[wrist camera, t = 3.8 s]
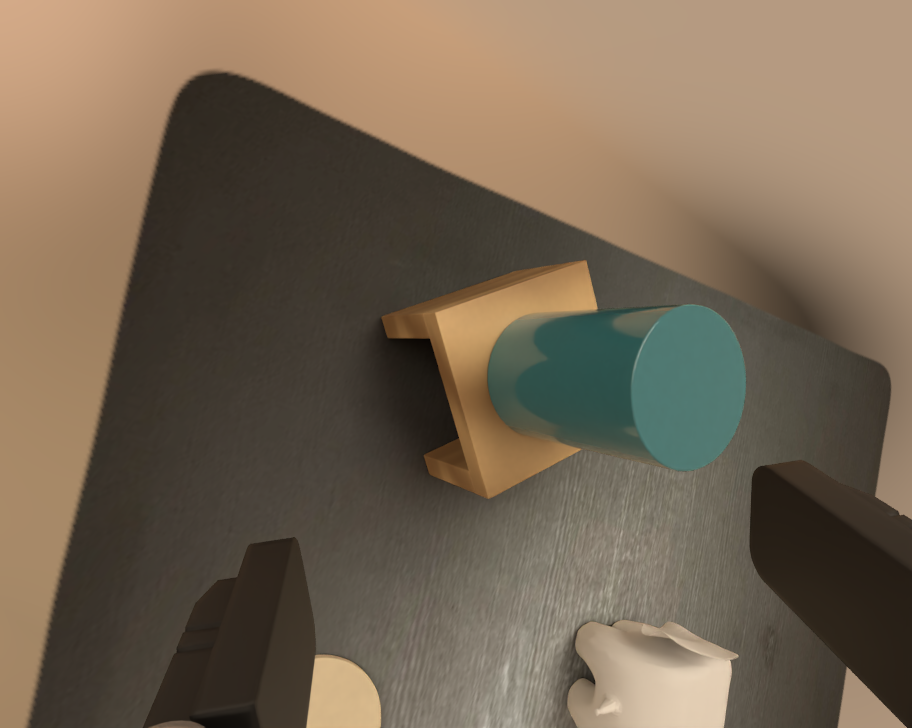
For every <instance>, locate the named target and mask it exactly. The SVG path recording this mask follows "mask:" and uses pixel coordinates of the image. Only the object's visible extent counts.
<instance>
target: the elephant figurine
mask: <svg viewBox="0 0 912 728" xmlns="http://www.w3.org/2000/svg"><path fill="white" fill-rule="evenodd" d="M575 647H576V651H577V653H578V655H579V656H580V657H581V658H583V660H584V661H585V662H586V664H587V665H588V667H589V668H590V670H591V672H592V673H593V676H594V678H595V682H596V683H595V685H594V684H593V683H592V682H590V681H589V680H587V679H584V678H581V679H579V680H577V681H576V682H575V683H574V684H573V685H572V686H571V688H570V690H569V693H568V703H567V707H568V709H569V712H570V713H571V715H572V718H573V719H574V721H575V723H576V725H577V727H578V728H724V722H725V714H726V707H727V699H728V691H729V685H730V680H731V672H732V669H731V662H730V660H732V659H736V658H738V655H737V654H735V653H733V652H730V651H728V650H725V649H723V648H721V647H719V646H717V645H715V644H713V643H711V642H709V641H705V640H703V639H702V638H700V637H698V636H696V635H694V634H693V633H691V632H689V631H688V630H686V629H685V628H683V627H682V626H680V625H678V624H676V623H672V622H667V623H665V624H664V625H663V626H662V627H660V628H657V627H654V626H652V625H649V624H644V623H639V622H633V621H629V620H621V621H618V622H616V623H614V624H613V626H612V627H610V626H606V625H603V624H600V623H596V622H593V621H591V622H589V623H587V624H585V625H583V626H582V627H581V628H580V629H579V630H578V633H577V637H576V642H575Z"/></svg>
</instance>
